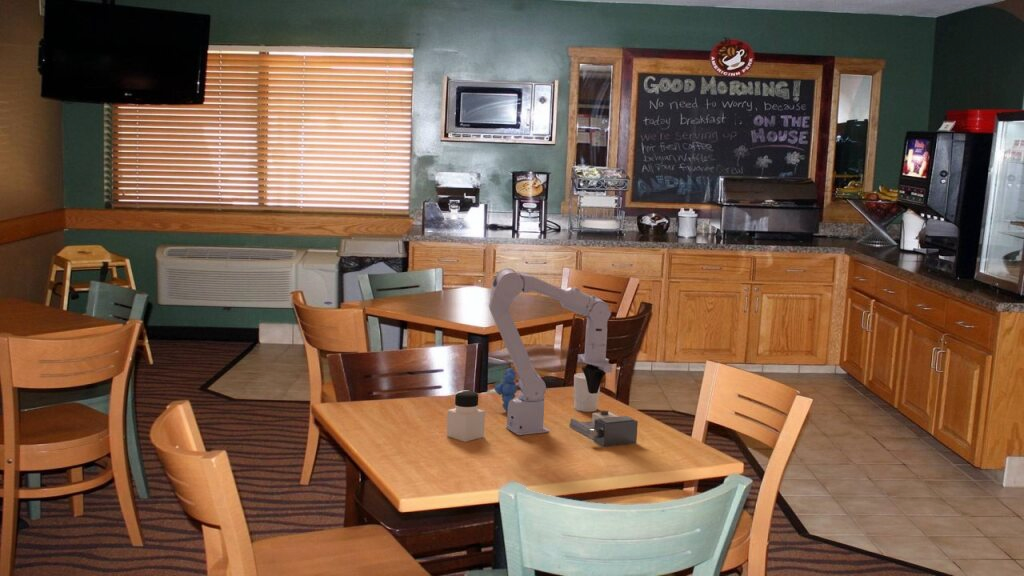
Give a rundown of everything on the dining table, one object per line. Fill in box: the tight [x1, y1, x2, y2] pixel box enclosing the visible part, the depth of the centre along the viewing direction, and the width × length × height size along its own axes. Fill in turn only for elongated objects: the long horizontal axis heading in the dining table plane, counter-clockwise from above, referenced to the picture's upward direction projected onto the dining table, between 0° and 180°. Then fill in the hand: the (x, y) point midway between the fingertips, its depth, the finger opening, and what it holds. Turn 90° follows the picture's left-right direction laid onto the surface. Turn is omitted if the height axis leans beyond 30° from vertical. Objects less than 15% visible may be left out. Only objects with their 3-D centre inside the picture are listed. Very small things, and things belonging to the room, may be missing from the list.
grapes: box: [494, 367, 518, 412], centre depth 280 cm, size 12×7×12 cm, turn 175°
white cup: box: [573, 372, 601, 413], centre depth 285 cm, size 8×8×10 cm
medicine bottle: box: [446, 389, 486, 443], centre depth 252 cm, size 7×7×12 cm
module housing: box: [569, 415, 639, 448], centre depth 258 cm, size 13×19×6 cm
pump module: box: [591, 410, 620, 429], centre depth 257 cm, size 5×5×6 cm
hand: (593, 392), depth 262 cm, fingers closed
